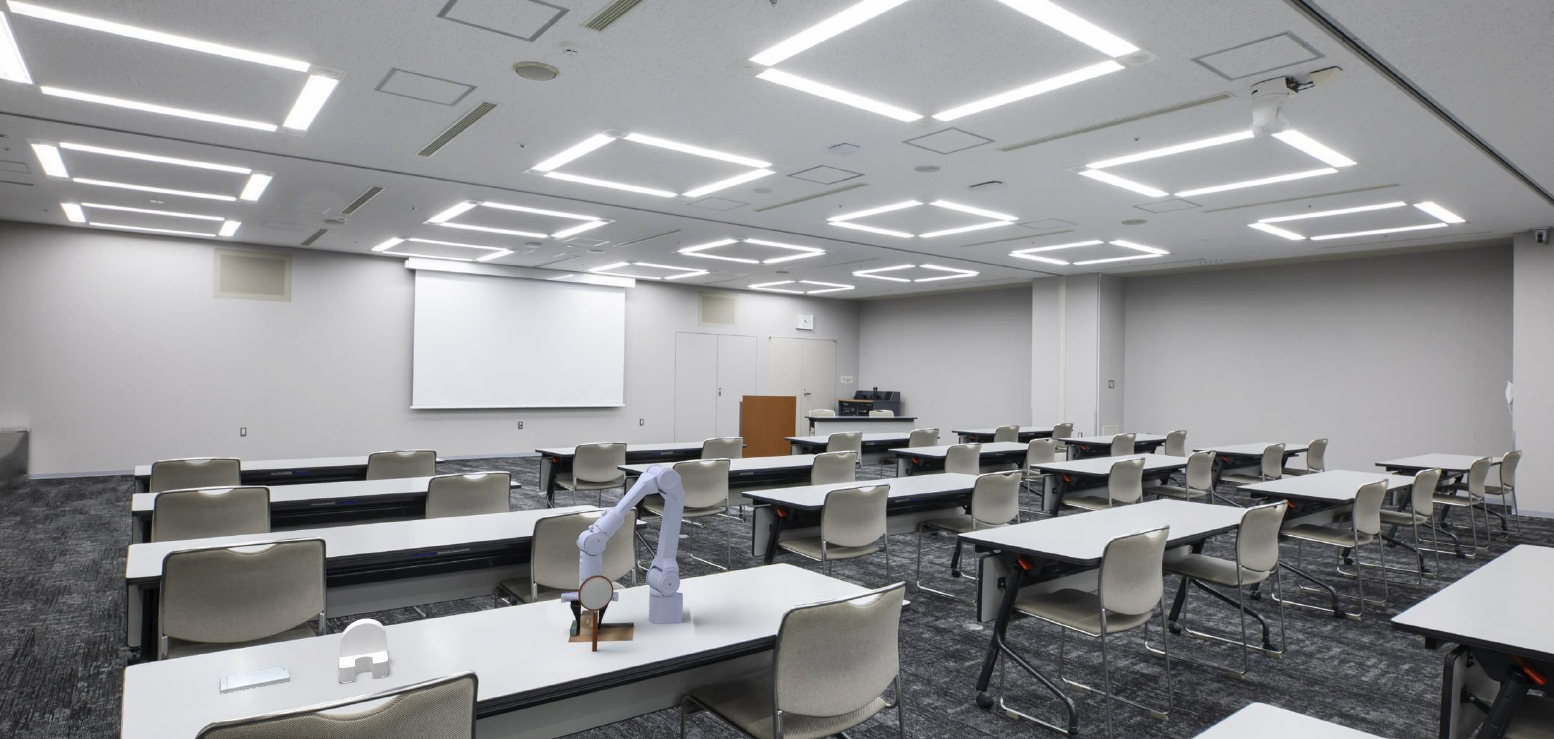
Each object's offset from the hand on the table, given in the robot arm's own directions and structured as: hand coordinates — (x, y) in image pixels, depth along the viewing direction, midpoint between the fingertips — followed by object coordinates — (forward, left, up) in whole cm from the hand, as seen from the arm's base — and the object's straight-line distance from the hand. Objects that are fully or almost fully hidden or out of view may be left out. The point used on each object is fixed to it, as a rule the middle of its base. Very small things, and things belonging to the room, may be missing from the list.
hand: (589, 628), depth 201 cm
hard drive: (+70, +22, -3) cm, 73 cm away
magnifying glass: (-2, +14, -3) cm, 14 cm away
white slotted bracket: (+50, +15, -3) cm, 52 cm away
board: (-3, +2, -2) cm, 4 cm away
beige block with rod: (0, 0, -1) cm, 1 cm away
